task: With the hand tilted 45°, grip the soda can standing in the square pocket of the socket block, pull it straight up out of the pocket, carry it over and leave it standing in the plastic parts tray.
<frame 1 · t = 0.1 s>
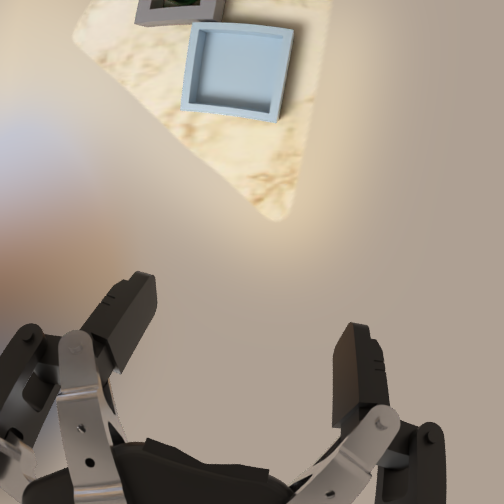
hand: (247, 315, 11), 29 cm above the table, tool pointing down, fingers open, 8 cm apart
parts tray: (239, 70, 30), on the table
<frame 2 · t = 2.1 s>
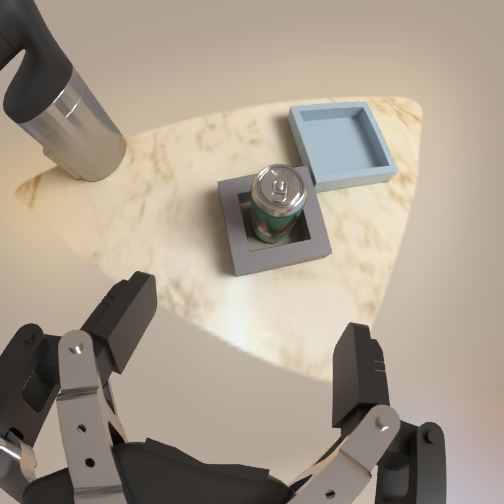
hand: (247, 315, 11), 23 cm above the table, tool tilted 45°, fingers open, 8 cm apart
socket block: (272, 224, 35), on the table
soda can: (271, 224, 35), resting in socket block
parts tray: (338, 149, 37), on the table
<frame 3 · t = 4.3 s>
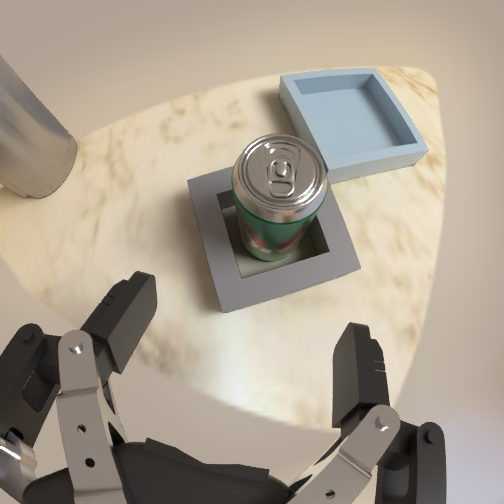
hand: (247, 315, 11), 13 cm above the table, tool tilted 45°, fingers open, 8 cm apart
socket block: (270, 233, 25), on the table
soda can: (270, 234, 25), resting in socket block
parts tray: (348, 127, 27), on the table
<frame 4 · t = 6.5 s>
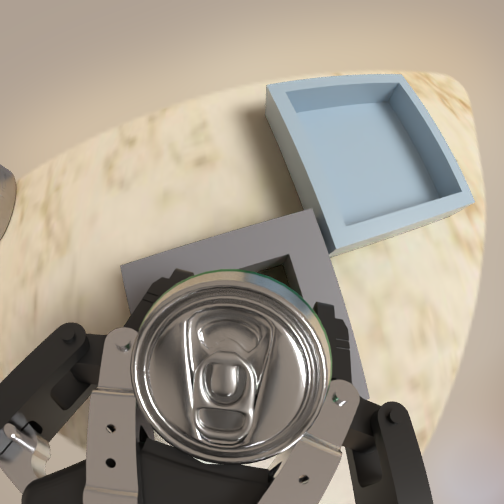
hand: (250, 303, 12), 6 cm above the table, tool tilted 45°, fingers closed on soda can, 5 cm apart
socket block: (245, 333, 17), on the table
soda can: (245, 333, 17), resting in socket block, touching gripper
parts tray: (364, 162, 19), on the table
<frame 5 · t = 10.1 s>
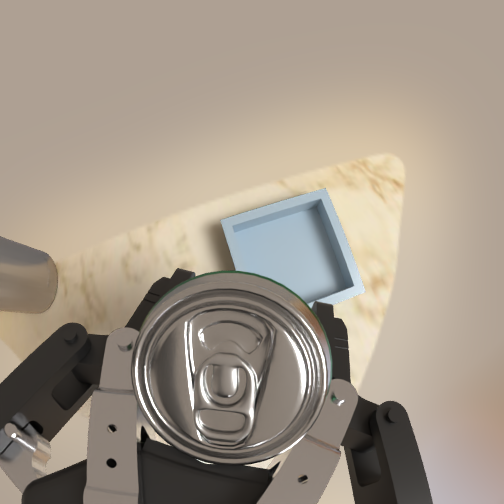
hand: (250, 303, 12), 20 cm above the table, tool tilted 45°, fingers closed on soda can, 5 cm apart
soda can: (245, 334, 17), point 14 cm above the table, touching gripper
parts tray: (290, 261, 32), on the table
when the fingers open (8 cm above the table, at t = 13.7 s): soda can drops 1 cm, resting on parts tray.
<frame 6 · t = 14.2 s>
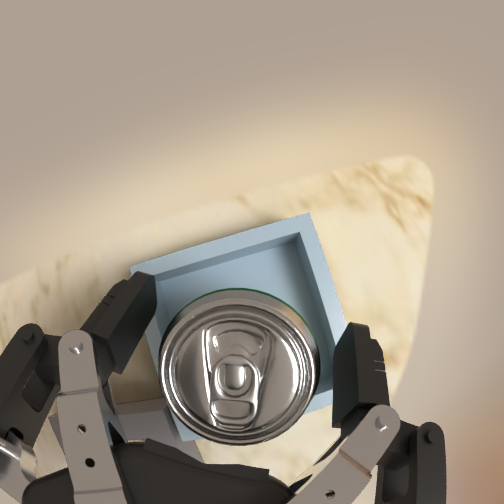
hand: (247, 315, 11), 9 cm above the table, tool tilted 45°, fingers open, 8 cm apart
socket block: (141, 459, 17), on the table
soda can: (247, 335, 19), point 1 cm above the table, touching parts tray
parts tray: (246, 330, 19), on the table
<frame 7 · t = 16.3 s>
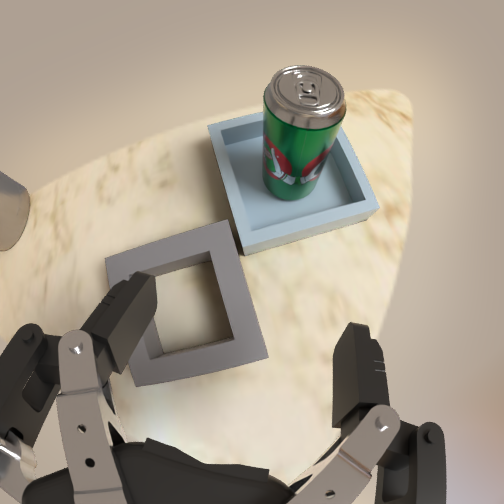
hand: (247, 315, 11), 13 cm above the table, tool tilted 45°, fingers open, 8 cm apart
socket block: (188, 307, 24), on the table
soda can: (289, 178, 26), point 1 cm above the table, touching parts tray
parts tray: (287, 179, 26), on the table
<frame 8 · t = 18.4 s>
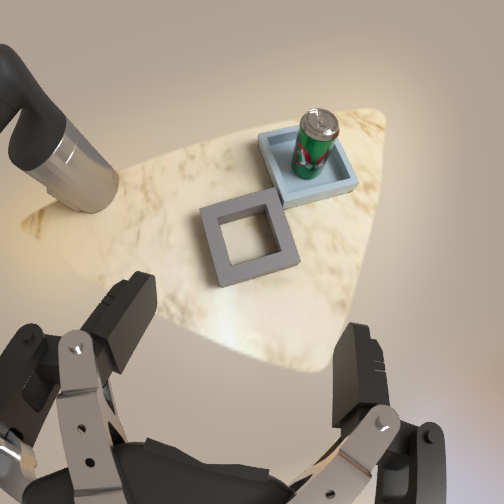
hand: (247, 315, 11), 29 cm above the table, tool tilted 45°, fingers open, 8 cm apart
socket block: (249, 240, 41), on the table
soda can: (306, 167, 43), point 1 cm above the table, touching parts tray
parts tray: (305, 167, 43), on the table
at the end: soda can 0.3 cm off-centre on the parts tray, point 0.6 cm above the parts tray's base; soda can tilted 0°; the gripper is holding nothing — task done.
